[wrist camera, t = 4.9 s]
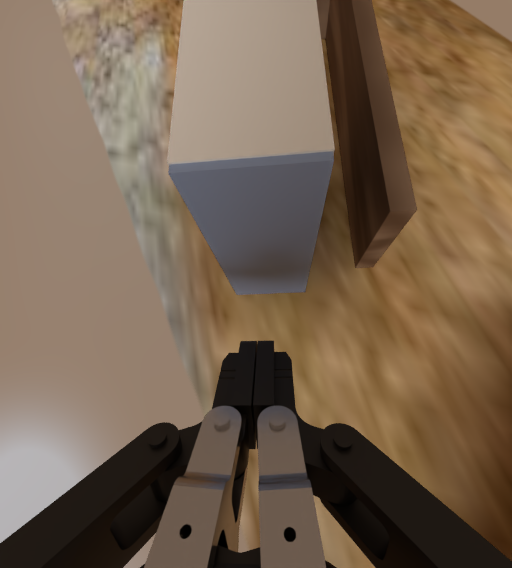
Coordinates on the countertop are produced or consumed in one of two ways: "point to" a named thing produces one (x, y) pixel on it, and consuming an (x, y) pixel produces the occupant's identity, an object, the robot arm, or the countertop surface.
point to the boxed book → (253, 136)
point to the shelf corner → (366, 129)
